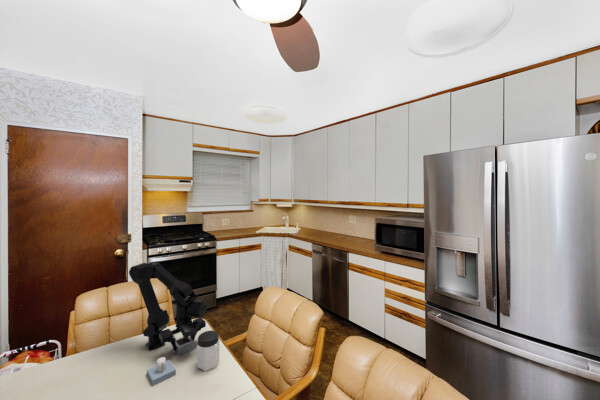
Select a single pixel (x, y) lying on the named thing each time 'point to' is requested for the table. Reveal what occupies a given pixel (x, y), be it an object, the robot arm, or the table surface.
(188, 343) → the collar
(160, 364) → the shaft block
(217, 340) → the jar
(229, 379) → the table surface
